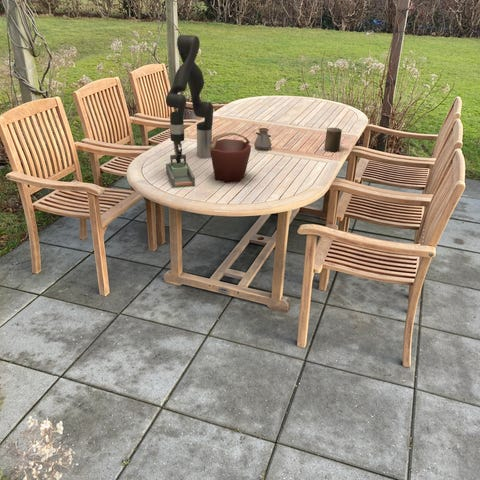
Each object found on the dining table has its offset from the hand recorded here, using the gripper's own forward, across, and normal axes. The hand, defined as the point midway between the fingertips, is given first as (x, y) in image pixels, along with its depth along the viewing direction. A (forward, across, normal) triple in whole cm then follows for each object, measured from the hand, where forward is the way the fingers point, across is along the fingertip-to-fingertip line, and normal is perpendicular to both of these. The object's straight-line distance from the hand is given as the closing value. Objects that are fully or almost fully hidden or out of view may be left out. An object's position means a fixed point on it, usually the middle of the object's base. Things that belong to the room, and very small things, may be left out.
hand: (178, 161), depth 279 cm
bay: (+8, -5, 0) cm, 9 cm away
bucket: (+8, -7, -27) cm, 29 cm away
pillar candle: (+8, +24, -105) cm, 108 cm away
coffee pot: (+8, +31, -58) cm, 66 cm away
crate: (+7, 0, 0) cm, 7 cm away
